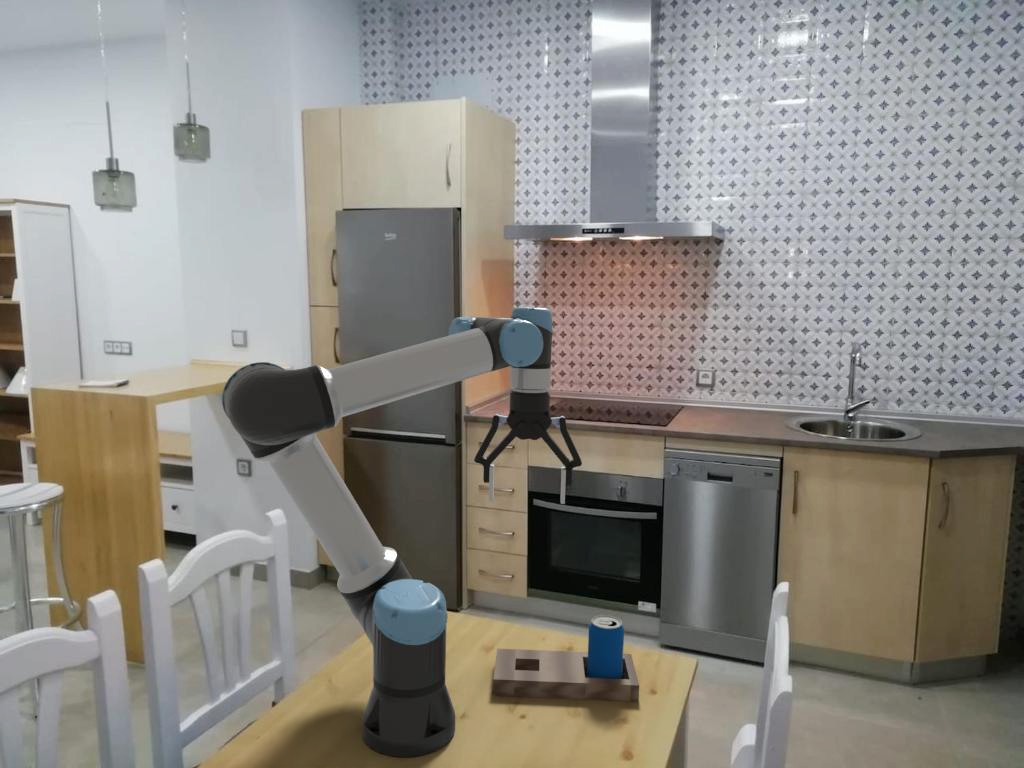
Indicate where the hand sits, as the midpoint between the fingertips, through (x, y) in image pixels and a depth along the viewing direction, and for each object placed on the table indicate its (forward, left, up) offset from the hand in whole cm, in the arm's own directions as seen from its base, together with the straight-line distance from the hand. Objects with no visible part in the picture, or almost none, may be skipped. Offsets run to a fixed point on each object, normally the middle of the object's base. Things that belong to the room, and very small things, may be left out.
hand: (526, 500), depth 142 cm
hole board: (+8, -6, -33) cm, 34 cm away
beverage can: (+15, -6, -33) cm, 37 cm away
